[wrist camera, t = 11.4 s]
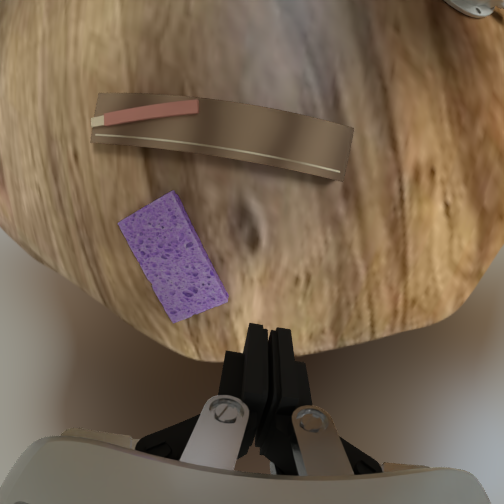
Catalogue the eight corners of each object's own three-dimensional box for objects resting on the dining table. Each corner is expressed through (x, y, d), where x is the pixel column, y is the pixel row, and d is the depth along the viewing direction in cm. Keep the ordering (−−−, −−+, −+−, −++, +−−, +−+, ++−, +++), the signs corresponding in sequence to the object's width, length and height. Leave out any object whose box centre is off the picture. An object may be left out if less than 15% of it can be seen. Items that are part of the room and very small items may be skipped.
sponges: (176, 315, 34) (172, 324, 32) (122, 217, 31) (114, 221, 29) (231, 294, 33) (229, 302, 31) (176, 188, 29) (171, 190, 28)
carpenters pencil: (198, 100, 24) (197, 99, 23) (198, 113, 24) (197, 112, 24) (94, 117, 24) (90, 116, 24) (94, 128, 25) (90, 128, 24)
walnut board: (346, 130, 27) (354, 128, 24) (336, 179, 28) (343, 181, 26) (110, 96, 26) (98, 92, 23) (102, 142, 27) (90, 142, 25)
